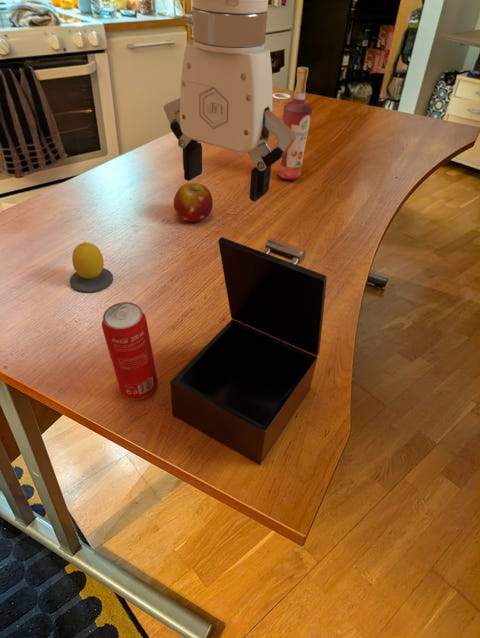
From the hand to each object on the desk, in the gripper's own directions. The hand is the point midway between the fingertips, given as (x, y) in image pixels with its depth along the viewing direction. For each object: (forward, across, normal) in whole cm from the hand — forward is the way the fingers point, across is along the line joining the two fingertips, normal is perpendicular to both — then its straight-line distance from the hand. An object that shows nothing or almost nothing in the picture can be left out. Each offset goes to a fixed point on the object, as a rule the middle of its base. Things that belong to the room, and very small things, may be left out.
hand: (224, 186), depth 59 cm
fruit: (+29, -29, +34) cm, 53 cm away
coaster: (+28, -31, +2) cm, 42 cm away
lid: (+13, +9, -3) cm, 16 cm away
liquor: (+29, -20, +69) cm, 77 cm away
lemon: (+28, -30, +2) cm, 42 cm away
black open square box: (+28, +9, -8) cm, 31 cm away
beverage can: (+29, -6, -14) cm, 33 cm away
